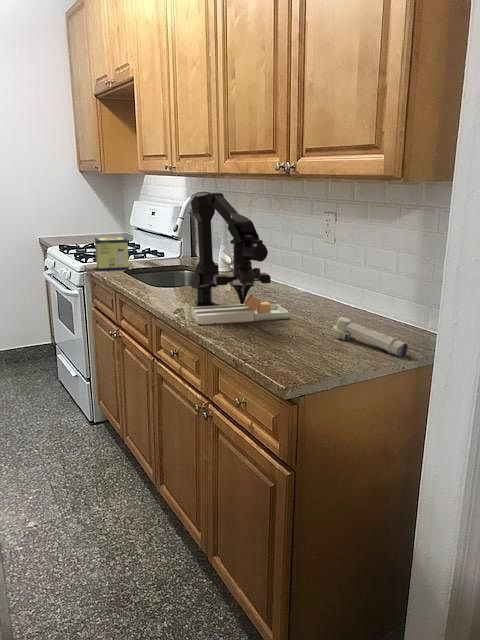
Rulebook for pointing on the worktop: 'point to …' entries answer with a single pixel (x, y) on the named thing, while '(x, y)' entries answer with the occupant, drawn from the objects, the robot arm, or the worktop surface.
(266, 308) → the orange cube
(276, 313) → the tray
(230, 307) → the slot board
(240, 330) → the worktop surface
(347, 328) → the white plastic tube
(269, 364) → the worktop surface
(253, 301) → the orange-brown cube
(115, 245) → the protein box
